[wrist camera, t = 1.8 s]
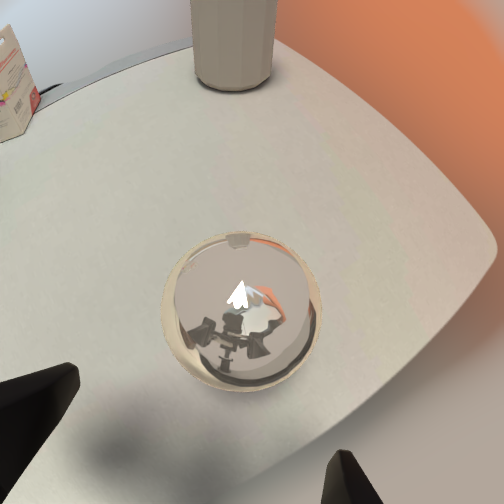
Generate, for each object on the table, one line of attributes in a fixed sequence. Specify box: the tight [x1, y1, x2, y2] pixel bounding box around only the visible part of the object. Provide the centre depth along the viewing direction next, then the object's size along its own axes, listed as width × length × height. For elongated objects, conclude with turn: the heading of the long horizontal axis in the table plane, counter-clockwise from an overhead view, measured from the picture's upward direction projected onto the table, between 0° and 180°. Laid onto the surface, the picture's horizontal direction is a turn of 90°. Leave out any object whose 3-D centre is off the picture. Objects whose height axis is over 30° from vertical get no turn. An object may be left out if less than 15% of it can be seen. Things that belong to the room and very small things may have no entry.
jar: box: [190, 0, 278, 91], centre depth 29 cm, size 10×10×18 cm
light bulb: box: [161, 231, 322, 392], centre depth 16 cm, size 7×7×12 cm
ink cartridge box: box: [0, 24, 41, 143], centre depth 26 cm, size 9×5×15 cm, turn 9°
